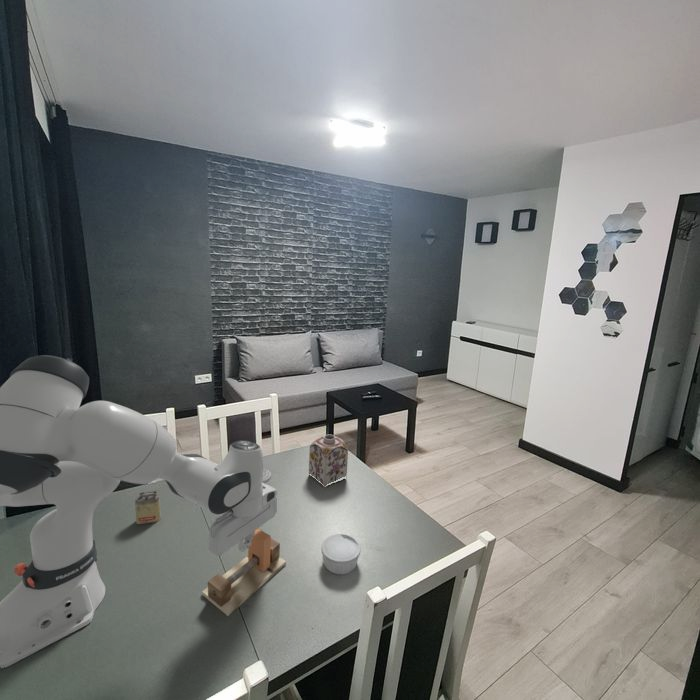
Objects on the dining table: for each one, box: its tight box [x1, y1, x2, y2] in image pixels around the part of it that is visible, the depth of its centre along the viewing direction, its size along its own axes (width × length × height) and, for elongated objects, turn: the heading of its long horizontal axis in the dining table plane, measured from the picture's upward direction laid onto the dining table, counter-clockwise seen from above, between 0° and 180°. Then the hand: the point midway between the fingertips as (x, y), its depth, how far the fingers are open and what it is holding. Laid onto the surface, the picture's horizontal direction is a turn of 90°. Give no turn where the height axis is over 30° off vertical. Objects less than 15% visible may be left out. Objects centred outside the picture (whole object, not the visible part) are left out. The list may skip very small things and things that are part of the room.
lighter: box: [134, 489, 162, 525], centre depth 116 cm, size 7×4×10 cm, turn 109°
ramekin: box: [321, 533, 362, 575], centre depth 104 cm, size 11×11×5 cm
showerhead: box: [262, 468, 272, 484], centre depth 136 cm, size 9×7×10 cm
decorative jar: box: [308, 434, 349, 486], centre depth 147 cm, size 12×12×18 cm
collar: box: [247, 528, 272, 572], centre depth 100 cm, size 2×6×10 cm, turn 57°
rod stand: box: [201, 538, 287, 617], centre depth 97 cm, size 20×10×6 cm, turn 147°
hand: (244, 547), depth 95 cm, fingers closed
